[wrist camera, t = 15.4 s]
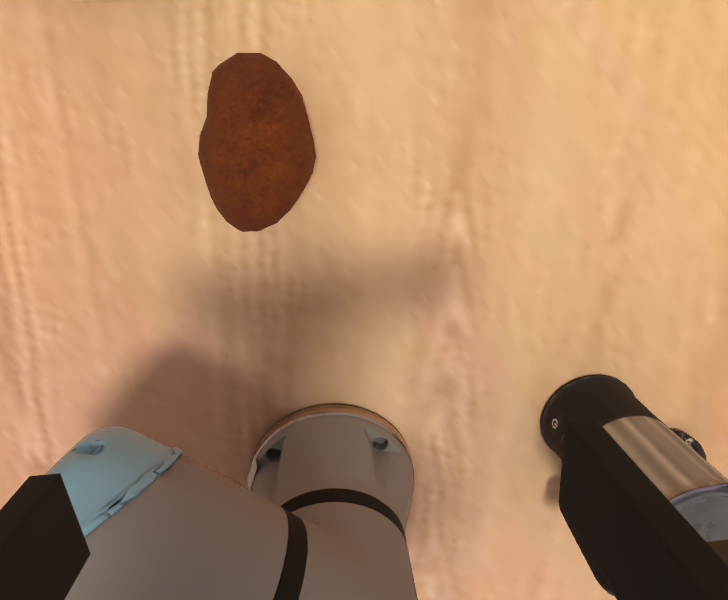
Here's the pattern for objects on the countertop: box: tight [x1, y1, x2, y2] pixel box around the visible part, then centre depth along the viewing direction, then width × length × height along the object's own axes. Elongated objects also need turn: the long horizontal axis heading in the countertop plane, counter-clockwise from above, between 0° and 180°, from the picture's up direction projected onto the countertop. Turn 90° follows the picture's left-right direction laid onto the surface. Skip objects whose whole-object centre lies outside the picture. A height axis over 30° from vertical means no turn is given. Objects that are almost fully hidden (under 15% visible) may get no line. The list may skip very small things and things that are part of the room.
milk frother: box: [541, 375, 728, 596], centre depth 39 cm, size 14×16×15 cm
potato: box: [198, 53, 316, 232], centre depth 31 cm, size 8×12×8 cm, turn 179°
